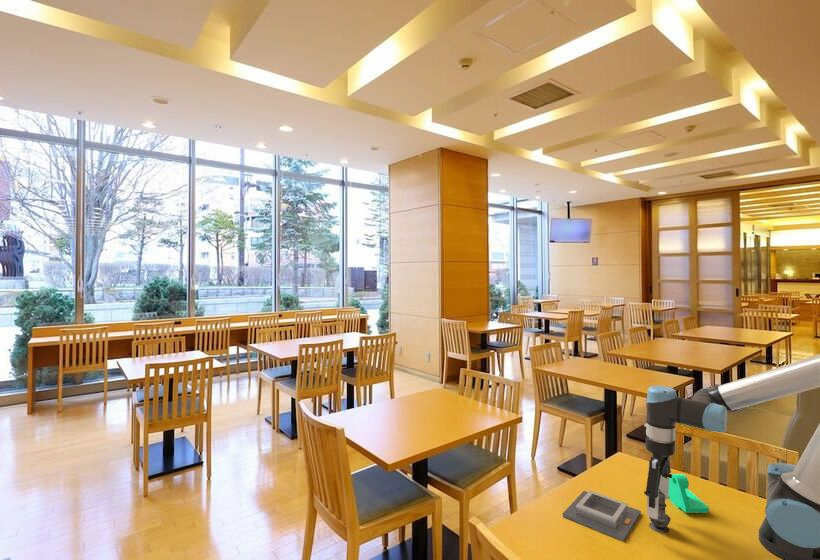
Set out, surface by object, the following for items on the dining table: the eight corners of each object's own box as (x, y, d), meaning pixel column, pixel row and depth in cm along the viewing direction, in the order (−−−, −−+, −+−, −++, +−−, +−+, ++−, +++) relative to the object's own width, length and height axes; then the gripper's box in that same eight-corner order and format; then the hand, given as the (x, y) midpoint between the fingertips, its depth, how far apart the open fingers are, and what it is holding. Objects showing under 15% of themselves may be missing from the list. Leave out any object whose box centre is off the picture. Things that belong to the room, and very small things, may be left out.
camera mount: (710, 516, 132) (710, 484, 131) (685, 516, 132) (685, 484, 132) (686, 495, 144) (686, 466, 143) (663, 495, 144) (664, 466, 144)
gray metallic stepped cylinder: (670, 536, 122) (670, 496, 121) (647, 529, 125) (647, 490, 125) (670, 525, 127) (671, 487, 126) (648, 519, 130) (649, 482, 130)
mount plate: (640, 514, 133) (640, 503, 133) (623, 541, 120) (623, 529, 120) (583, 493, 145) (583, 483, 145) (562, 516, 132) (562, 505, 132)
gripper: (656, 423, 137) (654, 486, 138) (634, 448, 118) (632, 520, 119) (682, 429, 132) (680, 494, 132) (664, 456, 113) (662, 531, 114)
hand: (658, 507), depth 126 cm, fingers open, 13 cm apart
